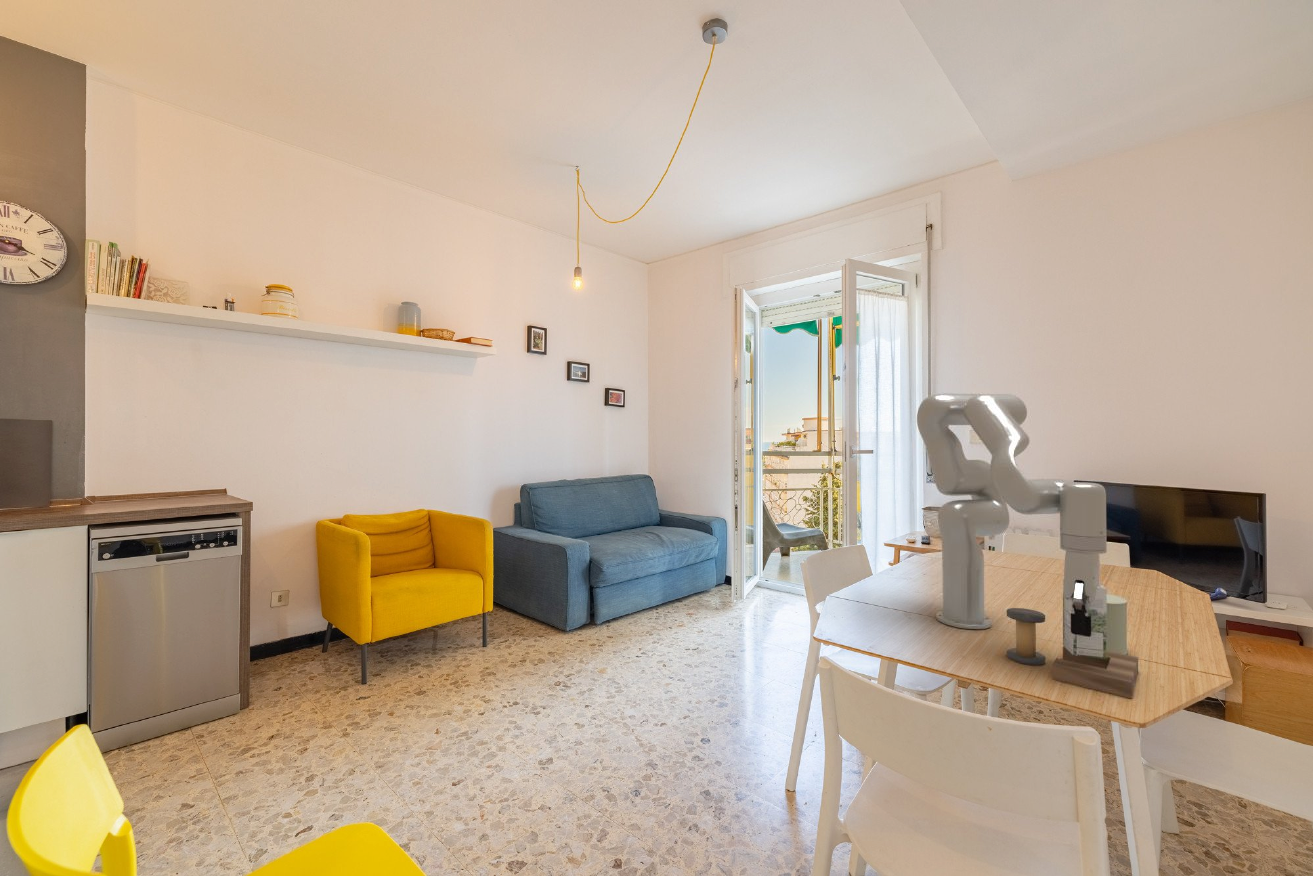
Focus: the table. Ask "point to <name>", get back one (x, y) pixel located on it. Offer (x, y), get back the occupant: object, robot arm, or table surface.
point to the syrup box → (1097, 640)
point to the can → (1116, 624)
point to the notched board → (1098, 672)
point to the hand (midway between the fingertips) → (1083, 629)
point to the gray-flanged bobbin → (1026, 636)
